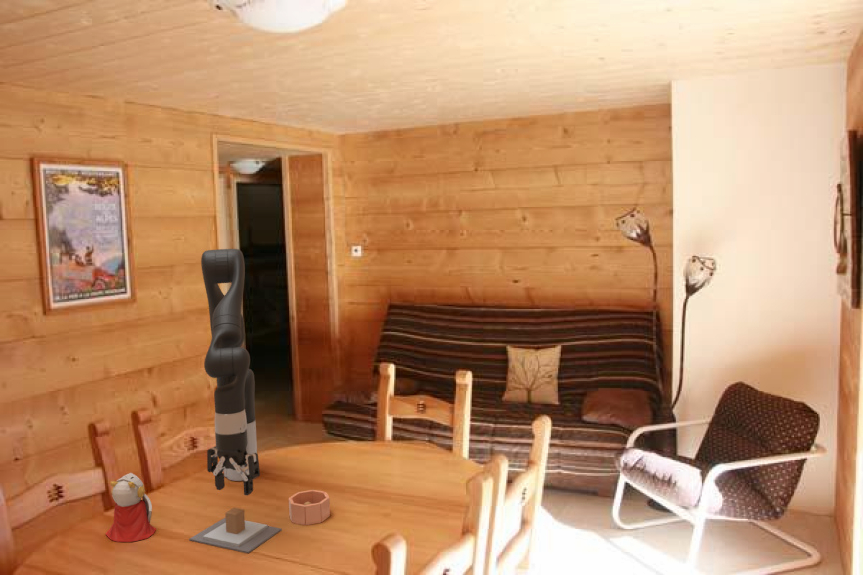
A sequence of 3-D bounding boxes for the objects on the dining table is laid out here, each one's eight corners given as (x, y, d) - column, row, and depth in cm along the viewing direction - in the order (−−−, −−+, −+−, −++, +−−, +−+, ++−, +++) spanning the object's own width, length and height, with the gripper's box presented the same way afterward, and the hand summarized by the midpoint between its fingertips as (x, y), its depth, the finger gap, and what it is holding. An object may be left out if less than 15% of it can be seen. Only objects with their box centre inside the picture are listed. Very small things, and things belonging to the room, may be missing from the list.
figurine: (169, 526, 174) (166, 470, 173) (134, 546, 164) (130, 486, 162) (132, 518, 179) (129, 463, 178) (95, 537, 169) (91, 479, 168)
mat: (189, 540, 166) (189, 538, 166) (225, 518, 178) (225, 517, 178) (248, 553, 159) (248, 551, 159) (281, 530, 171) (281, 528, 171)
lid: (202, 539, 166) (201, 516, 165) (233, 521, 176) (232, 499, 175) (238, 547, 161) (237, 523, 160) (267, 528, 171) (266, 505, 170)
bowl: (282, 520, 176) (281, 502, 175) (304, 505, 185) (303, 488, 185) (315, 527, 172) (314, 508, 171) (336, 511, 181) (335, 493, 181)
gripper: (197, 429, 165) (201, 493, 167) (244, 436, 159) (247, 502, 161) (218, 420, 172) (221, 481, 174) (264, 426, 166) (267, 490, 168)
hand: (234, 491), depth 167 cm, fingers open, 8 cm apart
